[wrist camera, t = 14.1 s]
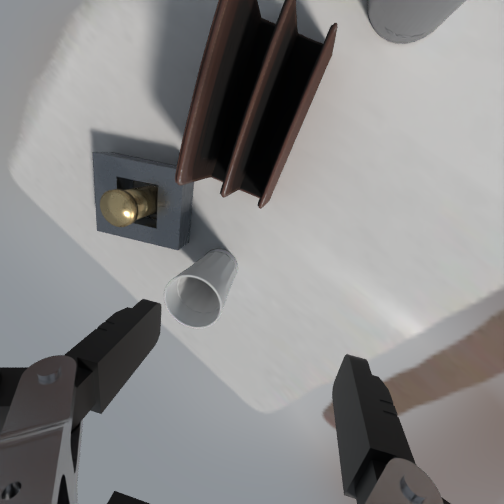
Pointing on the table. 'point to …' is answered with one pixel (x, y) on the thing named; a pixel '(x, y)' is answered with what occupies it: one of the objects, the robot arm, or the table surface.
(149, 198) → the fitting
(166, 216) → the grey hollow block
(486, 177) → the table surface
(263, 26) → the letter holder
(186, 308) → the cup
